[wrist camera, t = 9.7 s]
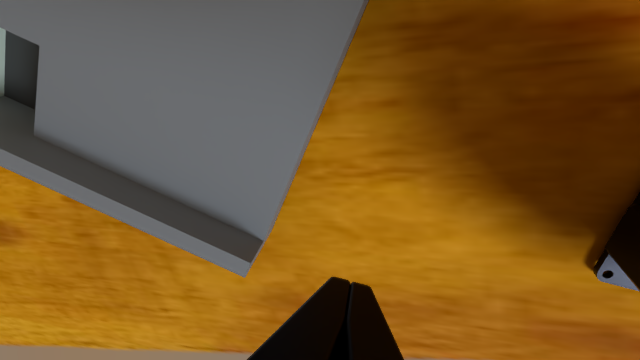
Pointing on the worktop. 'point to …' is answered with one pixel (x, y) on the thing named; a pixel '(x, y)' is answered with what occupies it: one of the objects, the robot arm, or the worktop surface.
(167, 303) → the worktop surface
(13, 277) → the worktop surface
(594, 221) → the worktop surface
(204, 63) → the gray open tray
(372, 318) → the robot arm
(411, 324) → the worktop surface
